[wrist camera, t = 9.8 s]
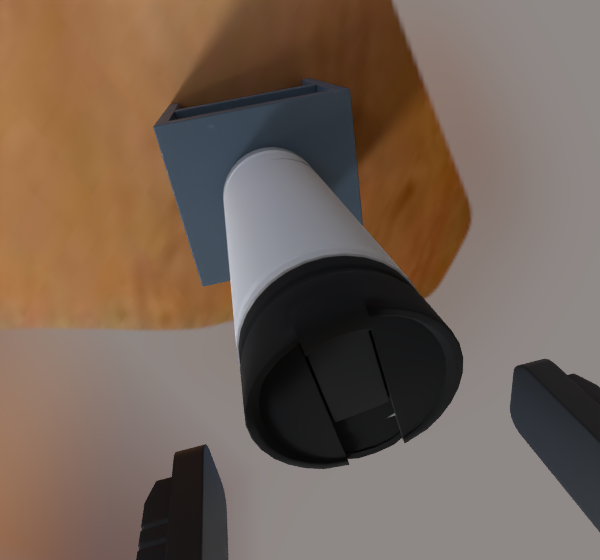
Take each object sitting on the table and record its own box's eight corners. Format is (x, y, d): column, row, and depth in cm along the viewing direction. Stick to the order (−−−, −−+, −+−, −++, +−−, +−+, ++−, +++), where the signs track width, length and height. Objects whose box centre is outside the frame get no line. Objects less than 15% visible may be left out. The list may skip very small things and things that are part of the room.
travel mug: (299, 126, 27) (460, 259, 10) (329, 220, 30) (489, 448, 13) (204, 162, 27) (194, 361, 10) (244, 252, 30) (290, 525, 13)
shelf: (169, 104, 36) (152, 126, 26) (310, 77, 37) (350, 88, 27) (204, 227, 41) (202, 287, 31) (327, 201, 42) (365, 250, 32)
